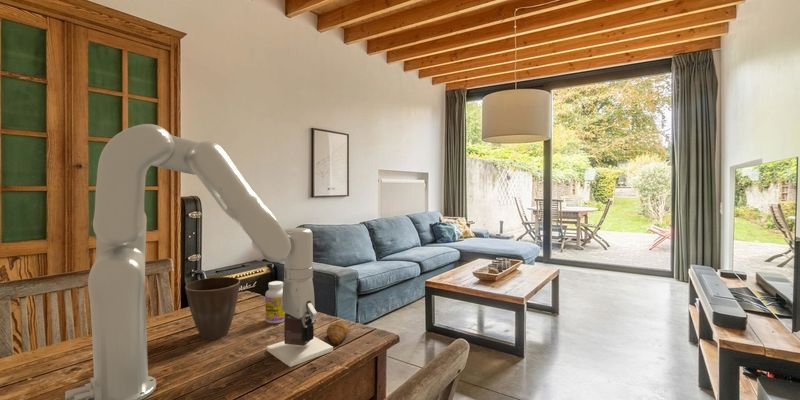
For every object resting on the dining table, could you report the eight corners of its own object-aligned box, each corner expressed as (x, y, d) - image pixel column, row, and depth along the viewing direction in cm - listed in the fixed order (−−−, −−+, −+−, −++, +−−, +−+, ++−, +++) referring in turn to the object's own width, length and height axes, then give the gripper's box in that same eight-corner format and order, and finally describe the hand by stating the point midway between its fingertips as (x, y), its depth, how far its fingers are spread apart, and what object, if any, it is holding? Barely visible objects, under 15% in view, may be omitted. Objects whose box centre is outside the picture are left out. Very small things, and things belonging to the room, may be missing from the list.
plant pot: (242, 339, 112) (241, 286, 112) (184, 349, 106) (183, 292, 105) (239, 322, 126) (238, 274, 125) (188, 330, 120) (187, 279, 119)
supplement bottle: (261, 322, 126) (260, 284, 125) (273, 316, 132) (273, 279, 131) (278, 325, 124) (278, 286, 123) (290, 318, 130) (289, 281, 129)
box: (304, 346, 101) (304, 319, 101) (283, 344, 103) (283, 317, 102) (314, 337, 107) (314, 312, 107) (294, 335, 109) (294, 310, 108)
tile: (290, 367, 96) (290, 362, 96) (266, 350, 105) (266, 346, 105) (333, 351, 105) (333, 346, 105) (308, 337, 114) (308, 333, 114)
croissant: (329, 329, 122) (329, 313, 121) (350, 328, 122) (350, 313, 122) (323, 347, 108) (323, 330, 108) (347, 347, 109) (347, 330, 108)
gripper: (271, 269, 108) (271, 330, 108) (303, 281, 95) (303, 349, 96) (295, 265, 113) (295, 323, 114) (328, 276, 101) (328, 341, 101)
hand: (299, 335), depth 105 cm, fingers closed on box, 8 cm apart
